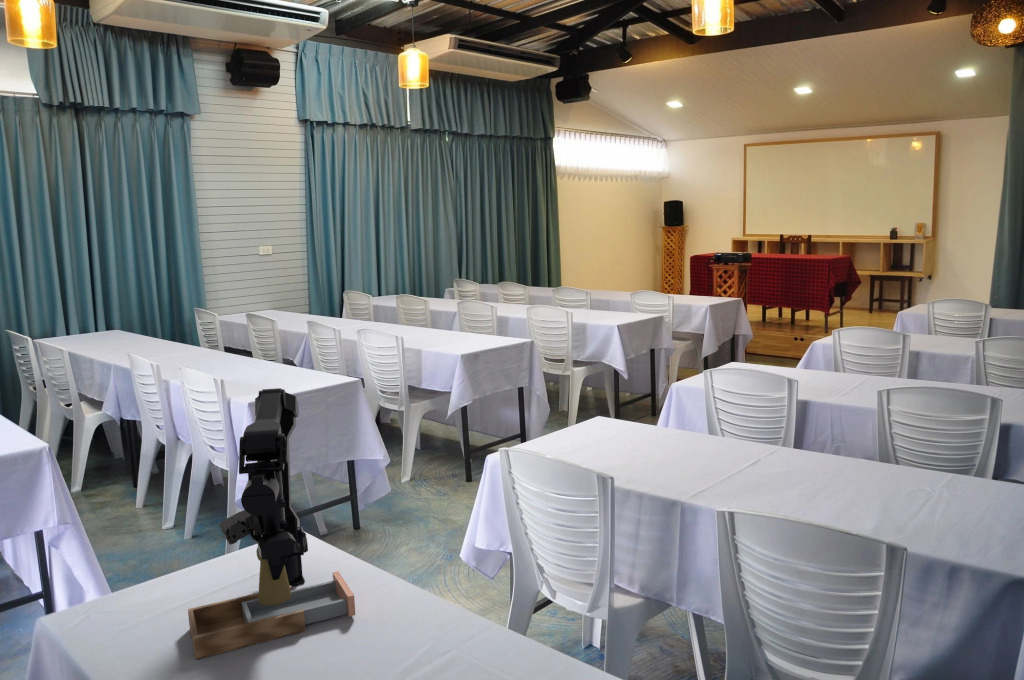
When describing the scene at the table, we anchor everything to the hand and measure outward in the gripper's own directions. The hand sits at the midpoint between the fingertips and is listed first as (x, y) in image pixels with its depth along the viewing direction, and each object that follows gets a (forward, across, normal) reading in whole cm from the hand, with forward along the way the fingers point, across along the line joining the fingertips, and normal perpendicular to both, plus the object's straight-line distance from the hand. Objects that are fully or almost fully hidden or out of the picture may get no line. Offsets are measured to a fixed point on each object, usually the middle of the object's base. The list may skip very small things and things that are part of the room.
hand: (273, 574), depth 147 cm
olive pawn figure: (+5, 0, 0) cm, 5 cm away
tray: (+9, 0, +4) cm, 10 cm away
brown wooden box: (+10, 0, -5) cm, 11 cm away
